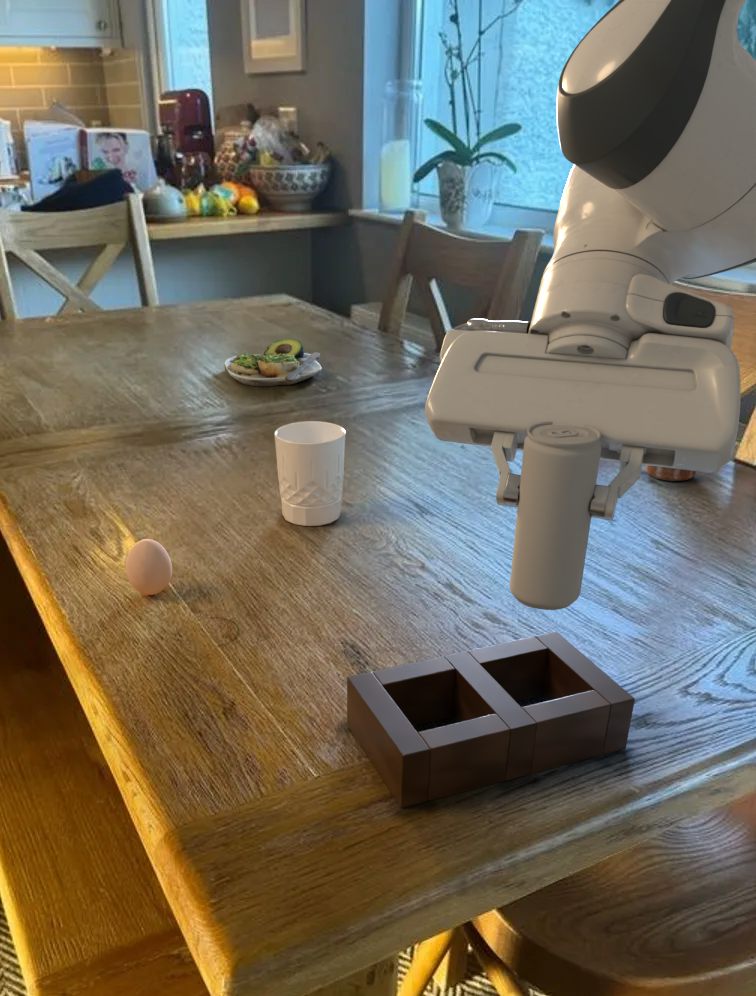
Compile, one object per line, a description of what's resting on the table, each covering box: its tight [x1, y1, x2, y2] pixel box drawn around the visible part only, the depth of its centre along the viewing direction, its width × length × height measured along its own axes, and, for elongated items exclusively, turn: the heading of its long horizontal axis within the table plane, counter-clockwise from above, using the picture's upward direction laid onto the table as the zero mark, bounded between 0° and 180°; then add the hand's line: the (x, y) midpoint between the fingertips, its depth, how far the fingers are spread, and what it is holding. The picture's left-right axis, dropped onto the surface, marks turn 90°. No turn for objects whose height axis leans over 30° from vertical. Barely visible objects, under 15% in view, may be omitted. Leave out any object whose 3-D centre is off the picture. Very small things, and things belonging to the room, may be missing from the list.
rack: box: [346, 631, 636, 809], centre depth 67 cm, size 18×10×4 cm, turn 109°
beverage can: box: [509, 421, 601, 611], centre depth 61 cm, size 5×5×12 cm
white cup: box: [273, 420, 346, 527], centre depth 102 cm, size 8×8×10 cm
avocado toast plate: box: [223, 338, 323, 387], centre depth 158 cm, size 19×18×5 cm
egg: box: [125, 538, 173, 596], centre depth 88 cm, size 4×4×6 cm
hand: (554, 509), depth 60 cm, fingers closed on beverage can, 5 cm apart
